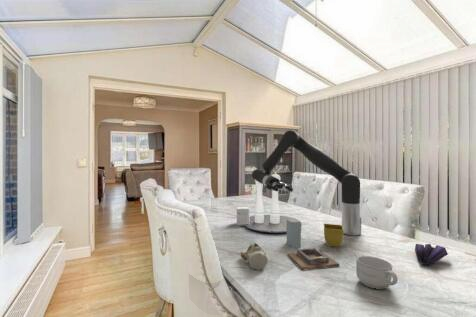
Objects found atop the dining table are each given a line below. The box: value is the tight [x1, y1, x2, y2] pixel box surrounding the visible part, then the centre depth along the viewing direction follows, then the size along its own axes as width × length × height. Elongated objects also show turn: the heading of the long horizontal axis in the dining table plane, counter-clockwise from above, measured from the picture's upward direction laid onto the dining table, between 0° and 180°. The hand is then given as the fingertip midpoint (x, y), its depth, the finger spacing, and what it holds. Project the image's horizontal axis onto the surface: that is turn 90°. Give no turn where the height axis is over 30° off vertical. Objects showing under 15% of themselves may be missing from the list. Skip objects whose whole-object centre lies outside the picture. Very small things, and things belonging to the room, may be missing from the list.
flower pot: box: [323, 223, 344, 248], centre depth 119 cm, size 9×9×9 cm
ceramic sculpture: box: [240, 243, 269, 271], centre depth 99 cm, size 11×9×15 cm
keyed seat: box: [286, 247, 340, 271], centre depth 102 cm, size 16×14×3 cm
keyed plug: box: [286, 218, 302, 249], centre depth 119 cm, size 4×6×12 cm
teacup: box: [355, 255, 398, 290], centre depth 81 cm, size 14×11×8 cm
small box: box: [236, 206, 251, 226], centre depth 155 cm, size 8×6×10 cm
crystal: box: [414, 243, 449, 267], centre depth 103 cm, size 7×12×20 cm
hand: (284, 189), depth 127 cm, fingers open, 8 cm apart
